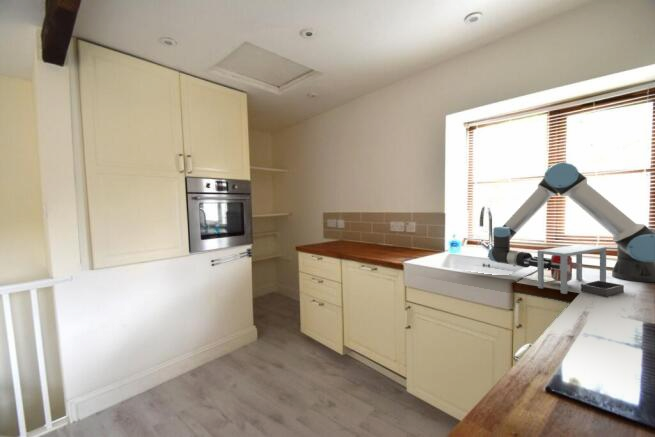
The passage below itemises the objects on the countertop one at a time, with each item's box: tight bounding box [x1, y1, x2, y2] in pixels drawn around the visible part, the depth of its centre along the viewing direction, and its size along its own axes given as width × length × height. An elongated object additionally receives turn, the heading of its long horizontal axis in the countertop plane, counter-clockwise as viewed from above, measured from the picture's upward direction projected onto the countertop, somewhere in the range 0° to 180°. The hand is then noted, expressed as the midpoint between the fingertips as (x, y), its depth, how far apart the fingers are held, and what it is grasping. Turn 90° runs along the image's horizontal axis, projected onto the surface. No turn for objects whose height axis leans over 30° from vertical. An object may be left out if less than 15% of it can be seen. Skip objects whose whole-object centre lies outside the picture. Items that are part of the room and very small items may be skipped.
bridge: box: [537, 244, 607, 295], centre depth 118 cm, size 30×10×16 cm, turn 112°
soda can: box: [550, 255, 573, 283], centre depth 122 cm, size 7×7×12 cm
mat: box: [521, 274, 557, 284], centre depth 131 cm, size 10×10×1 cm
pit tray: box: [580, 280, 625, 298], centre depth 109 cm, size 12×8×3 cm, turn 112°
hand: (574, 267), depth 117 cm, fingers closed on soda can, 7 cm apart
